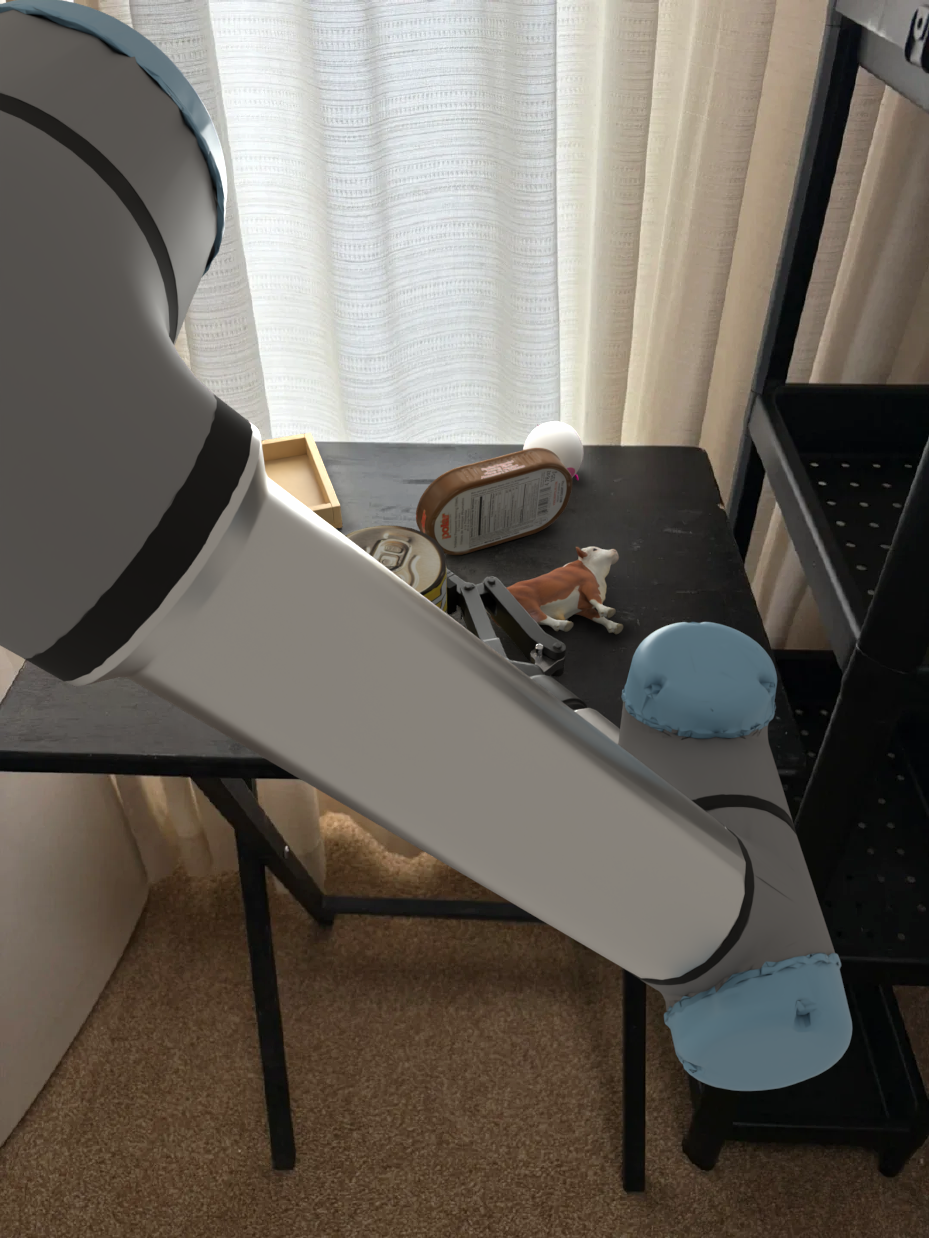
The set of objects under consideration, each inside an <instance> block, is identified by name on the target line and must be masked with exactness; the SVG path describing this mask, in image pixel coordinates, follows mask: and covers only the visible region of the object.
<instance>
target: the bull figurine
mask: <svg viewBox="0 0 929 1238" xmlns="http://www.w3.org/2000/svg"><path fill="white" fill-rule="evenodd" d="M575 550H576V554H577V557H578V559H577V560H574V561H570V562H568V563H566V564H564V565H563V566H560V567H557V568H555V569H553V570H551V571H550V572H548V573H544V574H541V575H539V576H537V577H534V578H531V579H526V580H521V581H517V582H515V583H514V584H512V585H509V586H507V587H506V588H507V589H508V591H509V592H510V593H511V594H512V595H513V596H514V598H515V599H516V600H517V601H518V602H519V603H520V604H521V606H522V607H523V608H524V609H525V610H526V611H527V613H528V614H529V615H530V616H531V617H532V618H533V619H534V621H535V622H536V623H537V624H538V625H539V626H549V627H551V629H553V630H554V631H555V632H559V630H560V631H562V632H565V633H566V632H567V633H568V632H569V631H570V630H572V628H573V627H574V622H572V621H569V620H568V619H569V618H570V617H572V616H574V615H578V616H580V617H584V618H586V619H589V620H590V621H593V622H594V623H596V624H599V625H602V626H604V627H605V628H606V630H607V632H608V633H609V634H615V635H619V634H620V633H621V632H622V631H623V629H624V625H623V624H622V623H619V622H618V623H617V622H615V621H612V620H609V619H611V618H612V617H613V616H614V615H615V614H616V609H615V608H613V607H609V606H606V605H603V603H604V602H605V600H606V594H607V582H606V577H607V576H608V575H609V573H610V570H611V565H615V564H616V563H617V562H618V561H619V558H620V556H619V553H618V551H617V550H616V549H615V548H611V549H604V548H603V549H602V548H600V547H598V546H587V547H582V548H580V547H579V546H575ZM489 616H490V618H491V620H492V621H493V622H494V623H495V625H496V626H498V627H500V626H499V625H498V623H497V622H496V621H495V620H494V619H493V617H492V616H491V615H490V614H489Z"/></svg>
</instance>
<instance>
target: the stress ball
mask: <svg viewBox="0 0 929 1238" xmlns="http://www.w3.org/2000/svg"><path fill="white" fill-rule="evenodd" d="M582 441H583V440H582V439H581V436H580V435H579V433H578V432H577V431H576V429H574V427H572V426H571V425H569V424H568V423H565V422H563V421H556V420H554V421H553V420H552V421H547V422H544V423H541V424H539V425H538V423H536V427H534V429H533V430H532V431H531V432H530V433H529V434H528V436H527V437H526V439H525V441H524V443H523V448H522V450H525V449H530V448H545V449H548V450H550V451H552V452H554V453H555V454H556V455H557V456H558V457H559V459H560V461H561V462H562V463H563V464H564V466H565V467H566V468H567V469H568V471H569V472H570V474H571V476H572V478H573V477H574V478H575V479H576V480H577V481H579V475H578V474H577V473H578V471H579V470H580V468H581V466H582V464H583V460H584V445H583V442H582Z"/></svg>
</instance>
